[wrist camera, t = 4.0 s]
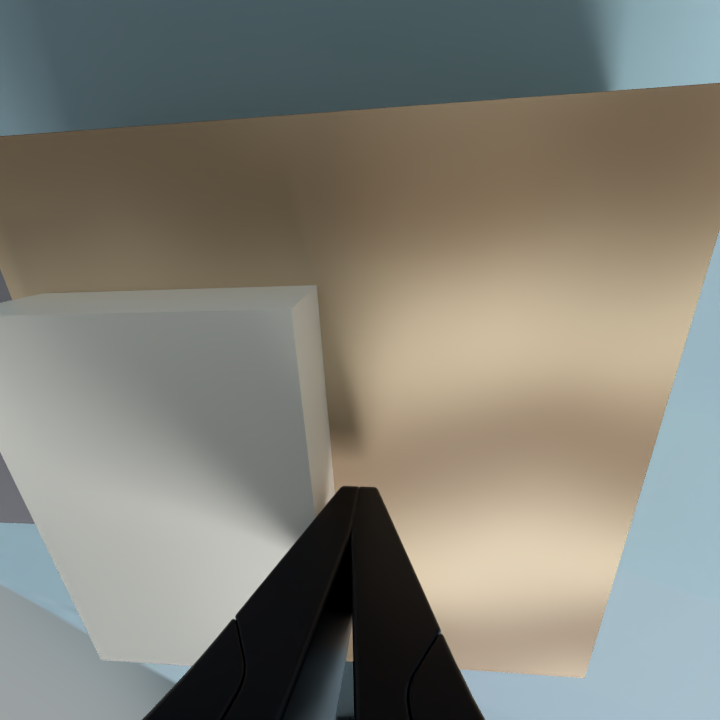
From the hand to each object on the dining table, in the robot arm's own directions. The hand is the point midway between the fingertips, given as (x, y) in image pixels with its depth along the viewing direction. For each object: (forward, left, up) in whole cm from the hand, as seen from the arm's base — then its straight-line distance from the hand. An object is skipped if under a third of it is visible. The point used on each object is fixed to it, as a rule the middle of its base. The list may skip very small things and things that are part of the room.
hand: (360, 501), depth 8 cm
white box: (0, +4, -1) cm, 4 cm away
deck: (0, +1, -5) cm, 5 cm away
